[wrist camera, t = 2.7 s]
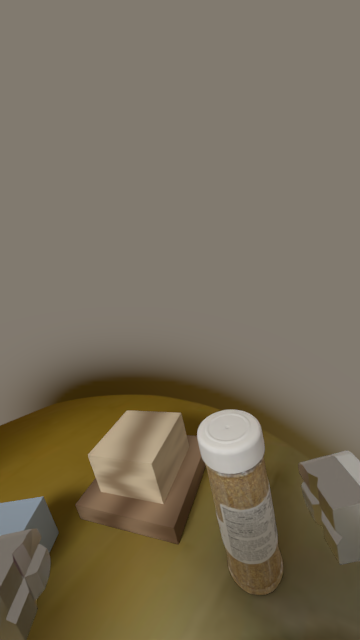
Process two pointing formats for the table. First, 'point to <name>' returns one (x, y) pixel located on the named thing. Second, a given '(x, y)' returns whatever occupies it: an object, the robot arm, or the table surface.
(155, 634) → the table surface
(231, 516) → the spice jar
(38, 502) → the block
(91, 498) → the block stand
